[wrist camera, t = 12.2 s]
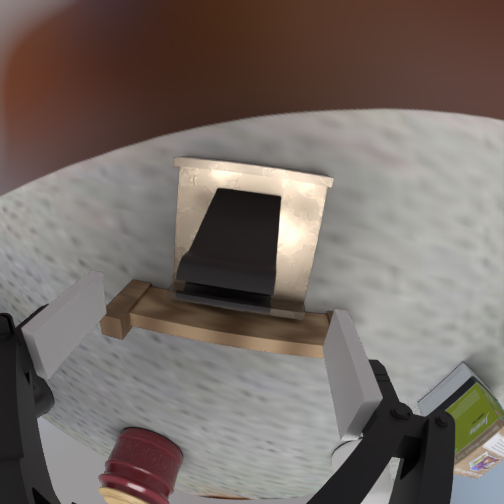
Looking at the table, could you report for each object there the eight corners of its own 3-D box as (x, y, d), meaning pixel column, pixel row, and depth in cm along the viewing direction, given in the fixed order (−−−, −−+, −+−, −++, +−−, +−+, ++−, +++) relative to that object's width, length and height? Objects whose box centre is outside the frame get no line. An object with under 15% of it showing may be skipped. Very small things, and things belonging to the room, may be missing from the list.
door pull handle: (133, 297, 33) (102, 333, 26) (132, 279, 33) (98, 313, 25) (341, 330, 33) (355, 376, 25) (347, 313, 32) (363, 357, 24)
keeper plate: (175, 285, 32) (166, 298, 29) (183, 156, 28) (173, 157, 25) (301, 305, 32) (303, 319, 29) (327, 175, 27) (333, 178, 24)
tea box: (491, 387, 35) (524, 442, 21) (451, 423, 38) (476, 481, 24) (462, 358, 33) (506, 427, 19) (414, 402, 36) (443, 476, 22)
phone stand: (218, 187, 28) (178, 214, 16) (282, 196, 27) (285, 229, 16) (209, 274, 31) (174, 343, 19) (267, 283, 30) (261, 359, 19)
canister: (108, 423, 44) (72, 492, 27) (165, 427, 42) (134, 512, 25) (140, 460, 48) (115, 523, 31) (194, 465, 46) (175, 538, 29)
